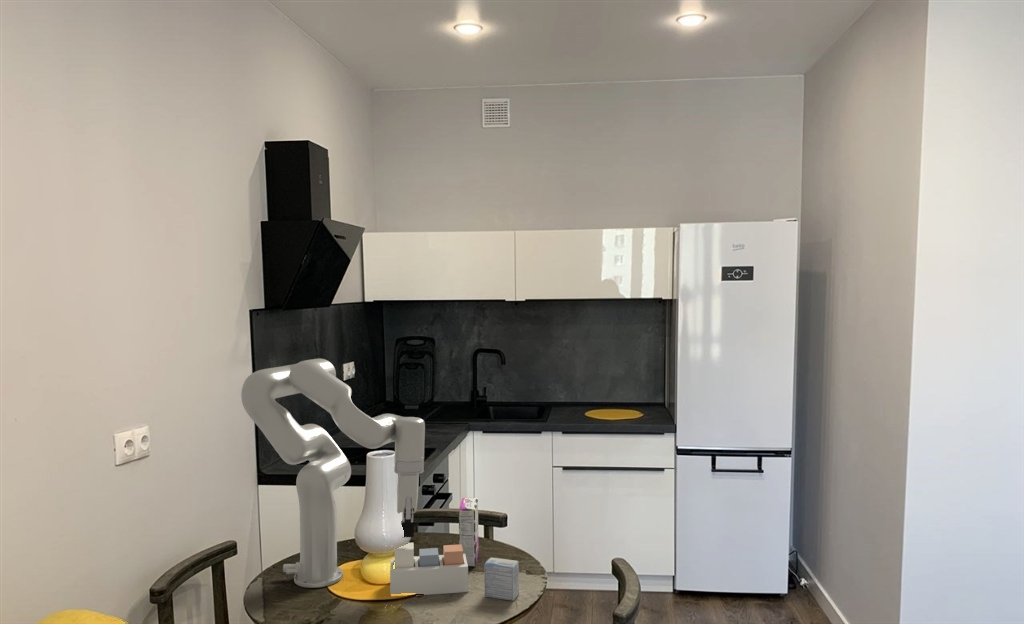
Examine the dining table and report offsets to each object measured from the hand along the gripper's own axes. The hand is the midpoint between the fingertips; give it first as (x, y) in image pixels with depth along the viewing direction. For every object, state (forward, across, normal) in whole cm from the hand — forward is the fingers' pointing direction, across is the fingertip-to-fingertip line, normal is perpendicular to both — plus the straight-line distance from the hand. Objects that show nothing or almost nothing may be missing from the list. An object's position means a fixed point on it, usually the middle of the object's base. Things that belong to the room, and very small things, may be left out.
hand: (407, 536), depth 171 cm
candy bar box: (+13, -16, +18) cm, 28 cm away
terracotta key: (+10, +1, +12) cm, 16 cm away
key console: (+13, 0, +6) cm, 15 cm away
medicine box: (+13, +9, +24) cm, 28 cm away
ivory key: (+9, 0, 0) cm, 9 cm away
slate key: (+10, 0, +6) cm, 12 cm away
